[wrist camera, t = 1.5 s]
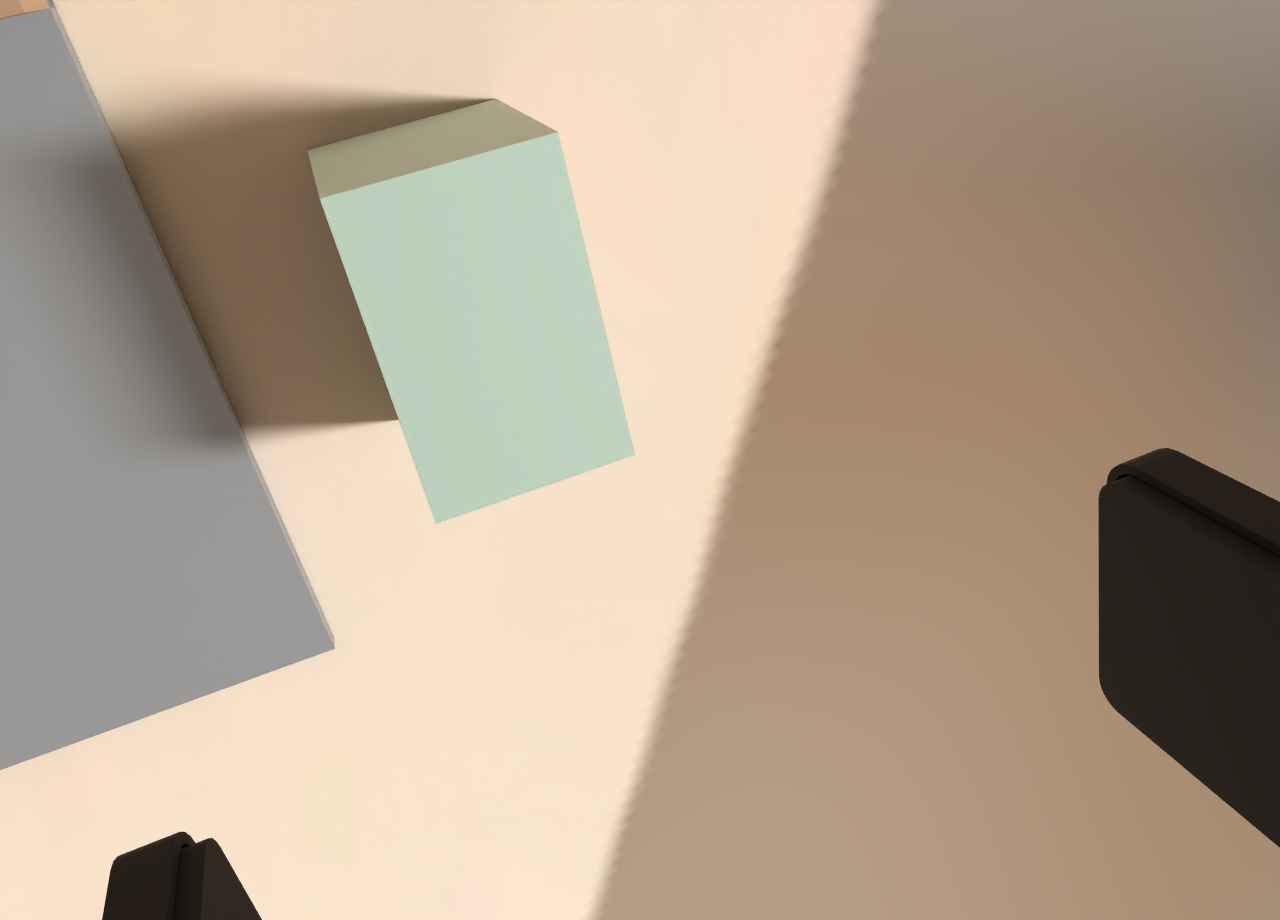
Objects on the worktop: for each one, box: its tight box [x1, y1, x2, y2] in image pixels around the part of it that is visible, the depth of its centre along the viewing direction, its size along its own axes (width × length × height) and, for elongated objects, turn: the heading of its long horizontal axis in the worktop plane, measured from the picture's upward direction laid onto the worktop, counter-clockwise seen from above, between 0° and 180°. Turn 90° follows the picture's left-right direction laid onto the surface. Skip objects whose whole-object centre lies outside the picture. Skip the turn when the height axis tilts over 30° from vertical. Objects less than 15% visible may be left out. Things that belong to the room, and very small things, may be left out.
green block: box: [307, 99, 635, 524], centre depth 23 cm, size 4×7×6 cm, turn 13°
